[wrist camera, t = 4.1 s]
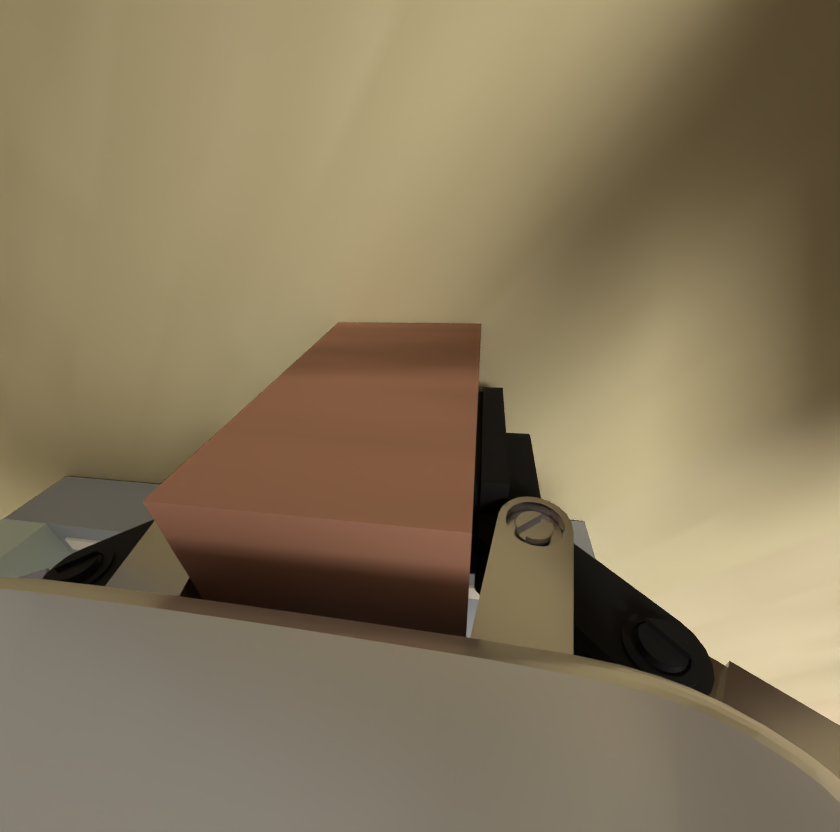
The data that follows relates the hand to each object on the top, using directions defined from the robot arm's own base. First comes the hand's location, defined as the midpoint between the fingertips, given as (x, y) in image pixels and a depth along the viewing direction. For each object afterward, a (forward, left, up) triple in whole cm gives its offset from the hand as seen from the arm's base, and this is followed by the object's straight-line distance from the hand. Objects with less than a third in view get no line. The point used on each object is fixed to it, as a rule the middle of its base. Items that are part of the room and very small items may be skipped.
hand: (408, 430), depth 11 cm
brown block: (+1, 0, -1) cm, 2 cm away
